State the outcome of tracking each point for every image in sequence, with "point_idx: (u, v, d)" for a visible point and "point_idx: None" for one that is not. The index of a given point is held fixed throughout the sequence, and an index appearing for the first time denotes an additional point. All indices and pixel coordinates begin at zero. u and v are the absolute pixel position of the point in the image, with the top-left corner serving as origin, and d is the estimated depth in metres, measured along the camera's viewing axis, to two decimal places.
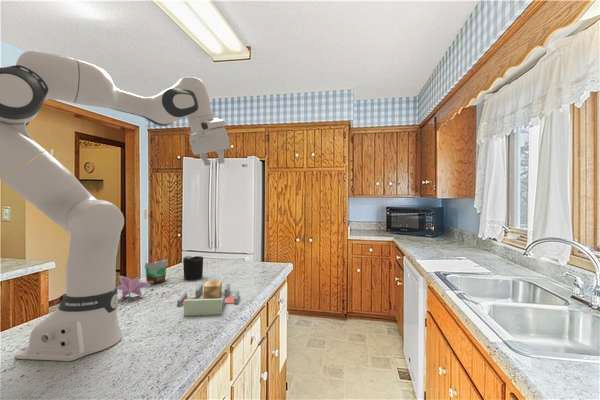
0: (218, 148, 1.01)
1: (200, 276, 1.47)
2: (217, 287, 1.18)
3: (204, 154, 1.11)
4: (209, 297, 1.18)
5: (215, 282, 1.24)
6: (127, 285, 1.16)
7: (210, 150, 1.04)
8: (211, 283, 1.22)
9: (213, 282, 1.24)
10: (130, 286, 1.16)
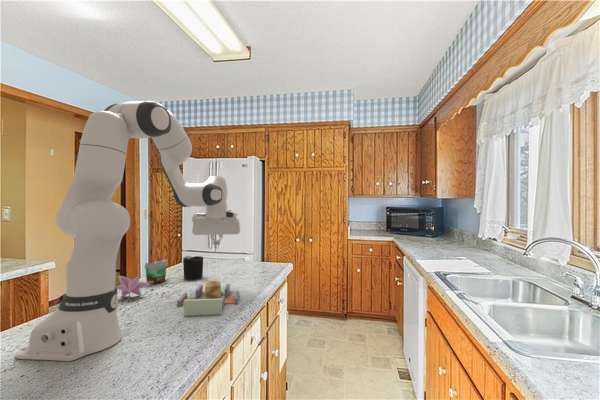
0: (234, 232, 1.30)
1: (200, 276, 1.47)
2: (219, 287, 1.19)
3: None
4: (211, 297, 1.18)
5: (215, 282, 1.24)
6: (127, 285, 1.16)
7: (222, 233, 1.30)
8: (211, 283, 1.22)
9: (212, 282, 1.24)
10: (130, 286, 1.16)
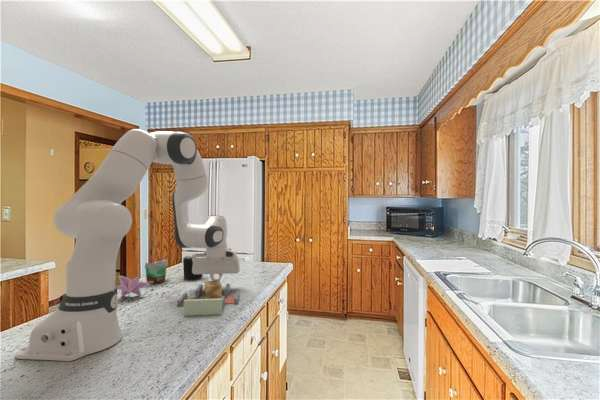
0: (234, 272, 1.30)
1: (200, 276, 1.47)
2: (219, 286, 1.19)
3: (213, 274, 1.31)
4: (211, 297, 1.18)
5: (214, 282, 1.24)
6: (127, 285, 1.16)
7: (222, 272, 1.30)
8: (211, 283, 1.22)
9: (212, 282, 1.24)
10: (130, 286, 1.16)
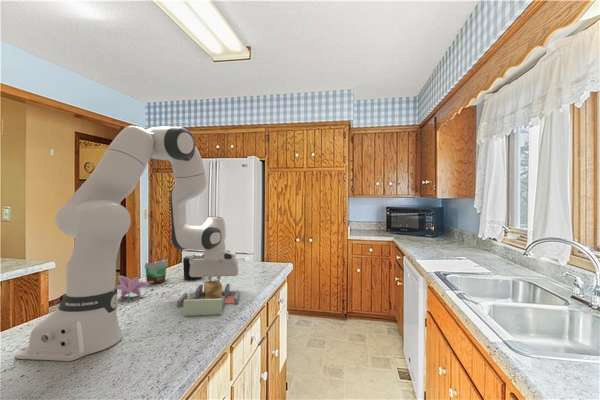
0: (233, 274, 1.26)
1: None
2: (220, 286, 1.19)
3: (211, 276, 1.27)
4: (212, 297, 1.18)
5: (214, 282, 1.23)
6: (127, 285, 1.16)
7: (220, 275, 1.26)
8: (211, 283, 1.22)
9: (212, 282, 1.24)
10: (129, 286, 1.16)
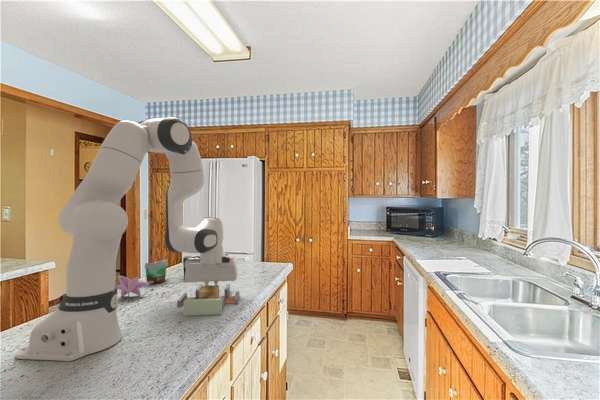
0: (231, 279, 1.19)
1: None
2: (214, 292, 1.11)
3: (208, 281, 1.20)
4: None
5: (212, 287, 1.17)
6: (127, 285, 1.16)
7: (218, 280, 1.18)
8: (208, 288, 1.15)
9: (210, 286, 1.17)
10: (129, 286, 1.16)
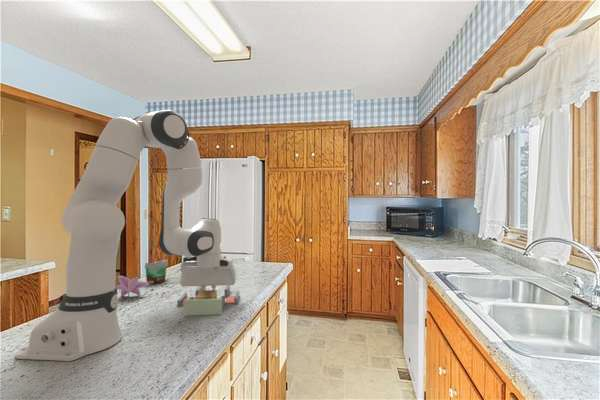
0: (229, 283, 1.13)
1: None
2: (211, 298, 1.05)
3: (205, 286, 1.14)
4: None
5: (209, 292, 1.10)
6: (127, 285, 1.16)
7: (215, 284, 1.12)
8: (205, 293, 1.09)
9: (207, 291, 1.11)
10: (129, 286, 1.16)
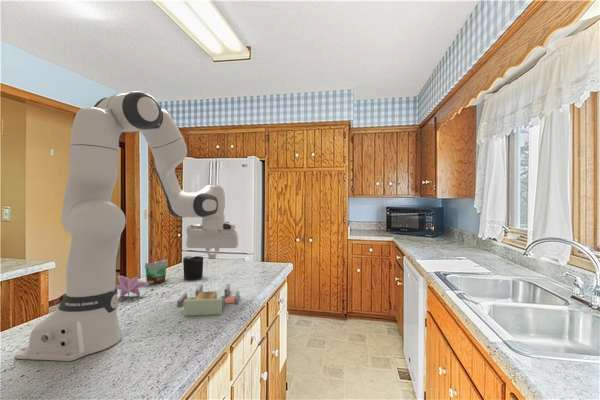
0: (232, 246, 1.21)
1: (200, 276, 1.47)
2: None
3: (209, 248, 1.21)
4: None
5: (209, 293, 1.09)
6: (126, 285, 1.17)
7: (219, 246, 1.20)
8: (204, 295, 1.07)
9: (207, 293, 1.09)
10: (129, 285, 1.16)
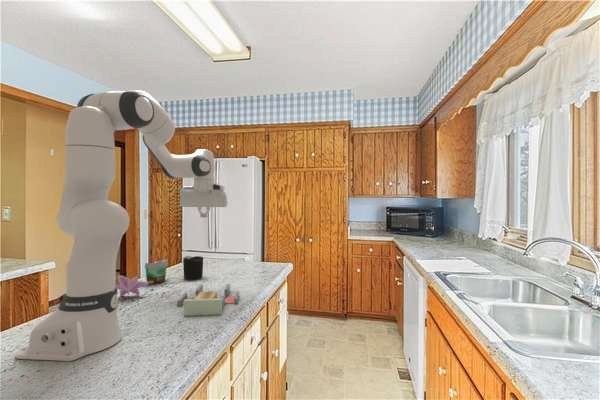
0: (221, 205, 1.32)
1: (200, 276, 1.47)
2: None
3: (201, 208, 1.33)
4: None
5: (209, 293, 1.09)
6: (126, 285, 1.17)
7: (209, 205, 1.32)
8: (204, 294, 1.07)
9: (207, 293, 1.09)
10: (129, 285, 1.17)
